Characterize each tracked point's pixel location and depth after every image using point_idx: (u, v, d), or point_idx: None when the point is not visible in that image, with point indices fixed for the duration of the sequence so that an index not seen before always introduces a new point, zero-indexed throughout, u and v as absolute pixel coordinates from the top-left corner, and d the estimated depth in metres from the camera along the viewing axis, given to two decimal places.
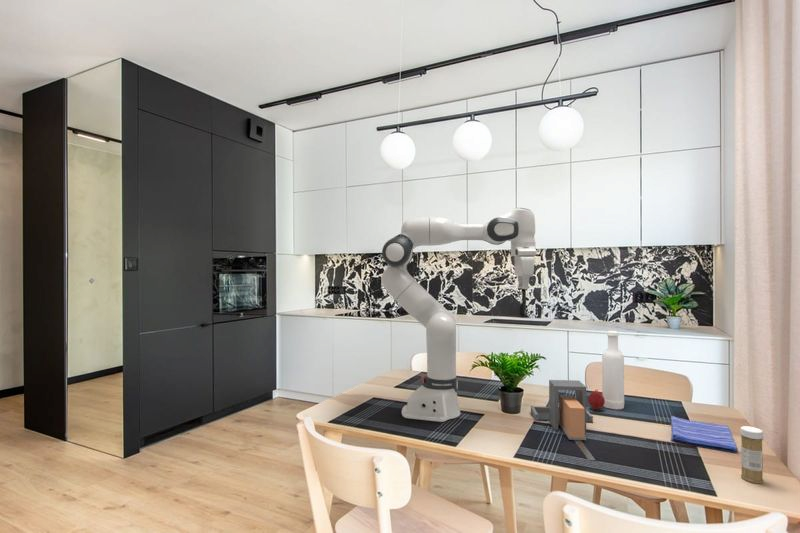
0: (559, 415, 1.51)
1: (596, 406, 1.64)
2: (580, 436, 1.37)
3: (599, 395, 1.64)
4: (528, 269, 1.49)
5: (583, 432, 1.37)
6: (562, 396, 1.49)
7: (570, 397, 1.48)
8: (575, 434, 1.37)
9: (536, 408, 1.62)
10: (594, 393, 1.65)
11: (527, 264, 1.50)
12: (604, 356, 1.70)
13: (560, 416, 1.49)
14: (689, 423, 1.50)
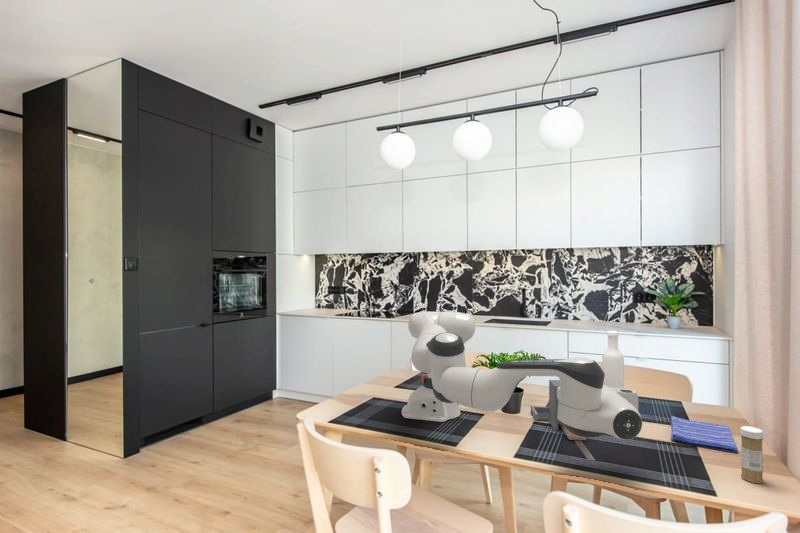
0: None
1: None
2: (580, 436, 1.37)
3: None
4: None
5: None
6: None
7: None
8: None
9: (536, 408, 1.62)
10: None
11: None
12: (604, 356, 1.70)
13: None
14: (689, 423, 1.50)
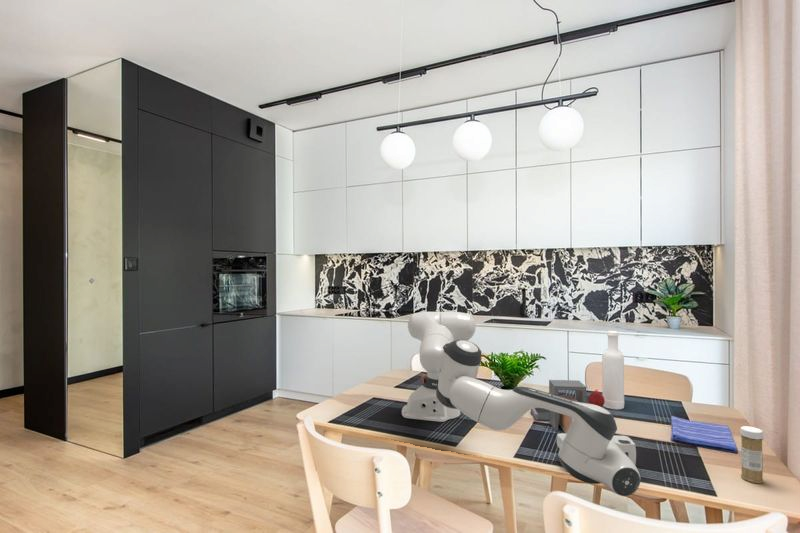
0: (559, 415, 1.51)
1: None
2: None
3: (599, 395, 1.64)
4: None
5: None
6: (562, 396, 1.49)
7: (570, 397, 1.48)
8: None
9: (536, 408, 1.62)
10: (594, 393, 1.65)
11: None
12: (604, 356, 1.70)
13: (560, 416, 1.49)
14: (689, 423, 1.50)
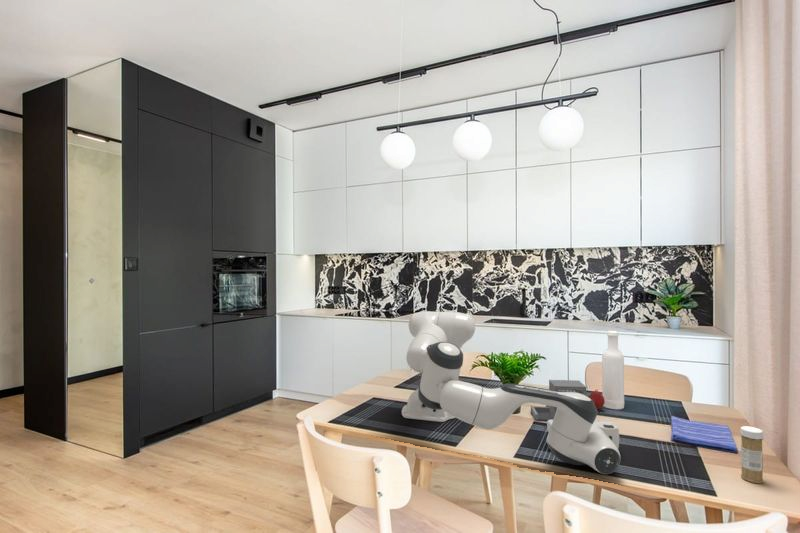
0: None
1: (596, 406, 1.64)
2: None
3: (599, 395, 1.64)
4: None
5: None
6: None
7: None
8: None
9: (536, 408, 1.62)
10: (594, 393, 1.65)
11: None
12: (604, 356, 1.70)
13: None
14: (689, 423, 1.50)
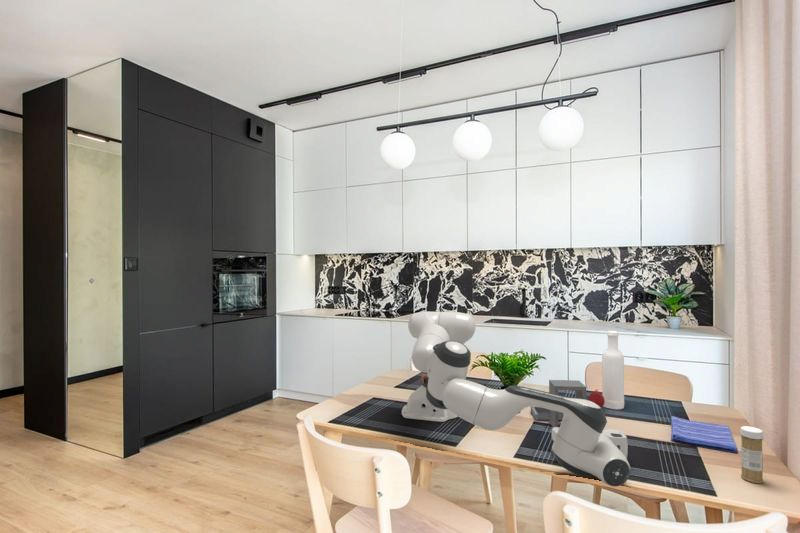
0: None
1: None
2: None
3: (599, 395, 1.64)
4: None
5: None
6: None
7: None
8: None
9: (536, 408, 1.62)
10: (594, 393, 1.65)
11: None
12: (604, 356, 1.70)
13: None
14: (689, 423, 1.50)
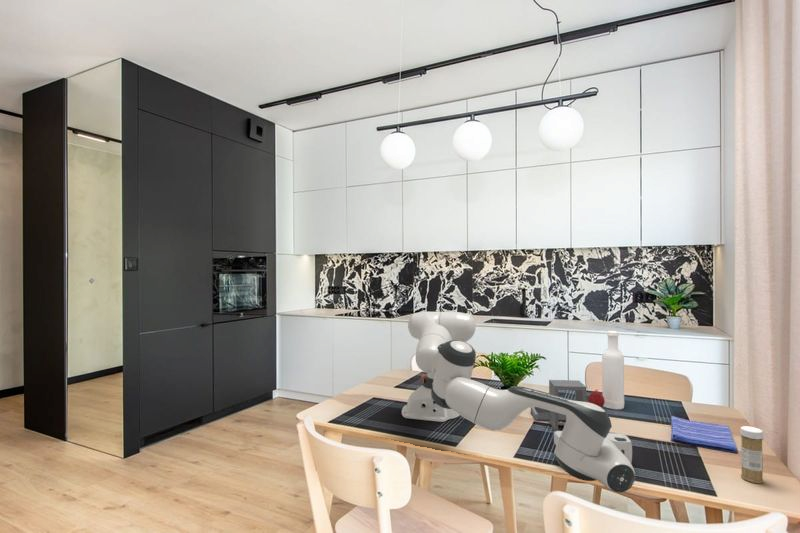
0: None
1: None
2: None
3: (599, 395, 1.64)
4: None
5: None
6: None
7: None
8: None
9: (536, 408, 1.62)
10: (594, 393, 1.65)
11: None
12: (604, 356, 1.70)
13: None
14: (689, 423, 1.50)
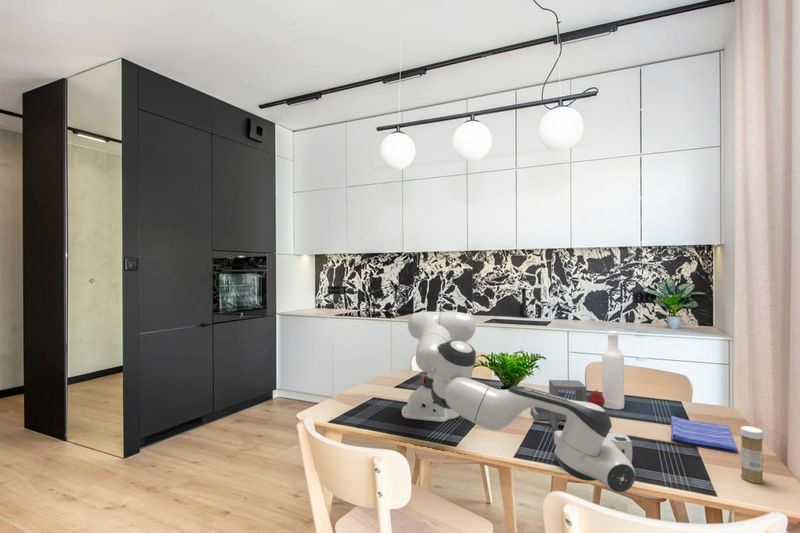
0: None
1: None
2: None
3: (599, 395, 1.64)
4: None
5: None
6: None
7: None
8: None
9: (536, 408, 1.62)
10: (594, 393, 1.65)
11: None
12: (604, 356, 1.70)
13: None
14: (689, 423, 1.50)
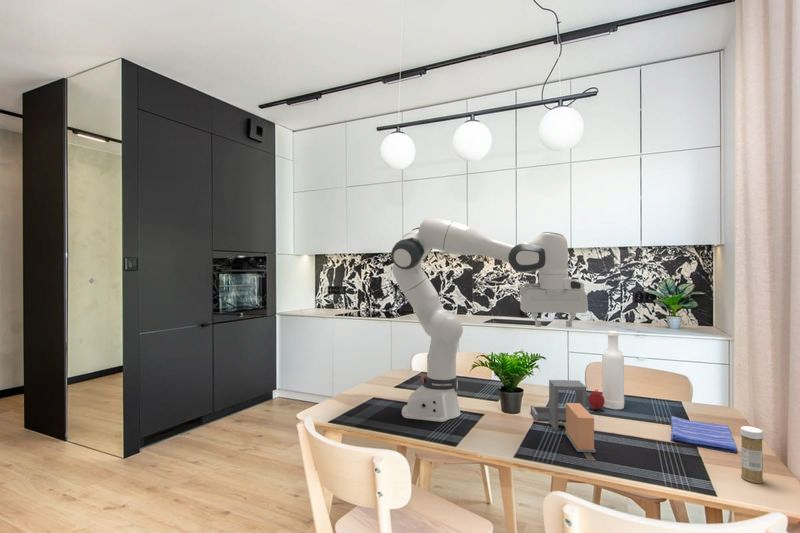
0: (566, 424, 1.42)
1: (596, 406, 1.64)
2: (589, 448, 1.28)
3: (599, 395, 1.64)
4: None
5: (592, 444, 1.28)
6: (569, 404, 1.40)
7: (578, 405, 1.40)
8: (584, 446, 1.28)
9: (536, 408, 1.62)
10: (594, 393, 1.65)
11: None
12: (604, 356, 1.70)
13: (567, 426, 1.41)
14: (689, 423, 1.50)
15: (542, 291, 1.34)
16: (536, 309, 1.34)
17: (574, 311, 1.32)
